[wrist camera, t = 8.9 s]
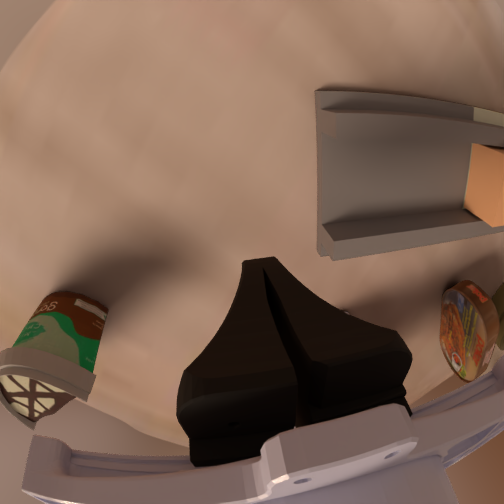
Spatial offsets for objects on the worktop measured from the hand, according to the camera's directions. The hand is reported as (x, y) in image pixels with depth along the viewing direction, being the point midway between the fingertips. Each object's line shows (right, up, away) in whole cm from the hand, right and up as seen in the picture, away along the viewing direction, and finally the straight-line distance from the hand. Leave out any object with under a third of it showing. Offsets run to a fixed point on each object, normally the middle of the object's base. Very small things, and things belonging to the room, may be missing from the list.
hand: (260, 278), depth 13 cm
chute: (+15, +8, +9) cm, 19 cm away
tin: (+24, -6, +19) cm, 31 cm away
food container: (-18, -4, +11) cm, 22 cm away
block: (+21, +8, +8) cm, 24 cm away
